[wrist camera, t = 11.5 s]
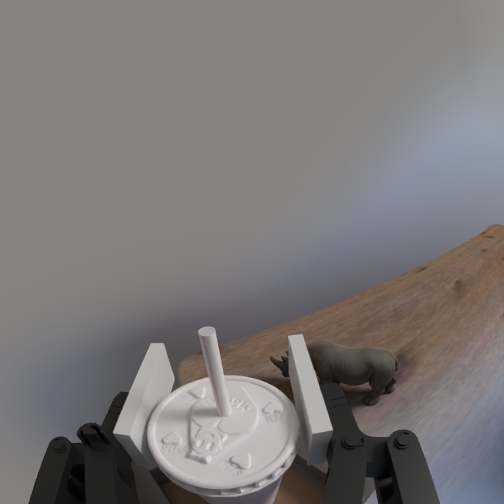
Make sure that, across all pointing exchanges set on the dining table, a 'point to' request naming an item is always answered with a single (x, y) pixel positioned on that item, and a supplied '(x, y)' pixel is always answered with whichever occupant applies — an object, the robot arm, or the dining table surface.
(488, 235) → the dining table surface
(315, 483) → the grey boxy open piece
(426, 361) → the dining table surface
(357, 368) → the rhino figurine
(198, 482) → the smoothie
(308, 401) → the robot arm
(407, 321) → the dining table surface
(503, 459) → the dining table surface
